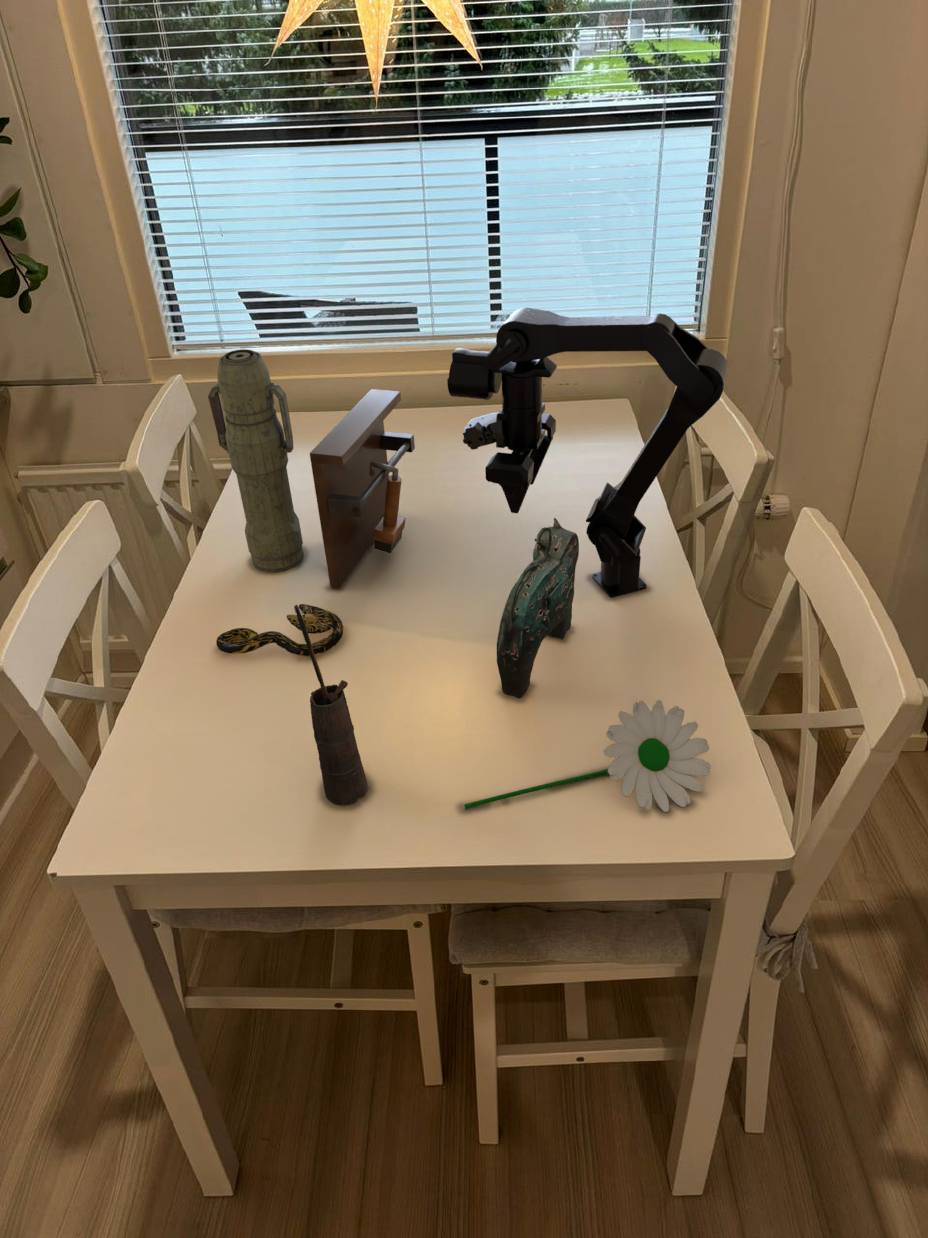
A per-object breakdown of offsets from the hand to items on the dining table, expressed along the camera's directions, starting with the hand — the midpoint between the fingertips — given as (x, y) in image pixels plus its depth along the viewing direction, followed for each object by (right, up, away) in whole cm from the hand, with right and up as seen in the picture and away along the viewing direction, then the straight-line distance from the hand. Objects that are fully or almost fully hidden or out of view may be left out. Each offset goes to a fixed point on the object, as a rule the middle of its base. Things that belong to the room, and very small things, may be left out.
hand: (522, 497), depth 142 cm
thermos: (-40, -8, +14) cm, 43 cm away
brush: (-23, -6, +12) cm, 27 cm away
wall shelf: (-23, -7, +14) cm, 28 cm away
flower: (+6, -38, -30) cm, 49 cm away
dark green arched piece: (+2, -24, -11) cm, 27 cm away
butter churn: (-22, -39, -29) cm, 53 cm away
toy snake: (-36, -22, -5) cm, 42 cm away
